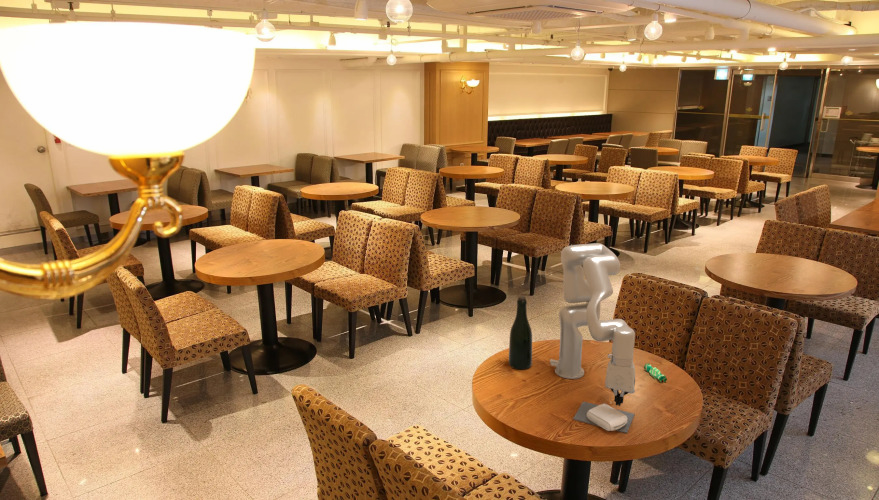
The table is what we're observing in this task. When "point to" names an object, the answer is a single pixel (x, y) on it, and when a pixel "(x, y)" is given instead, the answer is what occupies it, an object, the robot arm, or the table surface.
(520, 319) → the dark green wine bottle
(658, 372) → the candy
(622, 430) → the rubber mat
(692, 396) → the table surface
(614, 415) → the photo printer
